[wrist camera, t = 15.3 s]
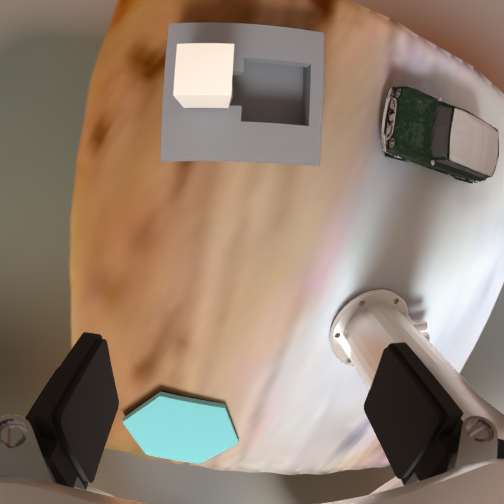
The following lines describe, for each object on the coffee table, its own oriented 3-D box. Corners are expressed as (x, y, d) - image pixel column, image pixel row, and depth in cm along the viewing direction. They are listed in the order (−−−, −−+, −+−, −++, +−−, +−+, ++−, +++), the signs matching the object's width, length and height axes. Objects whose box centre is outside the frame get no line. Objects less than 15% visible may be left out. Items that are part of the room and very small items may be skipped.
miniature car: (379, 84, 32) (415, 73, 25) (476, 127, 35) (514, 129, 27) (370, 152, 35) (405, 155, 27) (469, 184, 38) (506, 193, 30)
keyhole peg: (233, 73, 29) (241, 38, 18) (231, 118, 31) (238, 102, 20) (186, 73, 29) (170, 38, 18) (183, 118, 30) (165, 102, 19)
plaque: (254, 403, 47) (129, 378, 42) (256, 412, 45) (127, 387, 40) (223, 459, 51) (120, 440, 46) (224, 467, 49) (118, 448, 44)
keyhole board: (309, 47, 30) (323, 33, 25) (304, 163, 34) (319, 166, 29) (176, 40, 28) (169, 23, 23) (169, 159, 33) (160, 161, 28)
